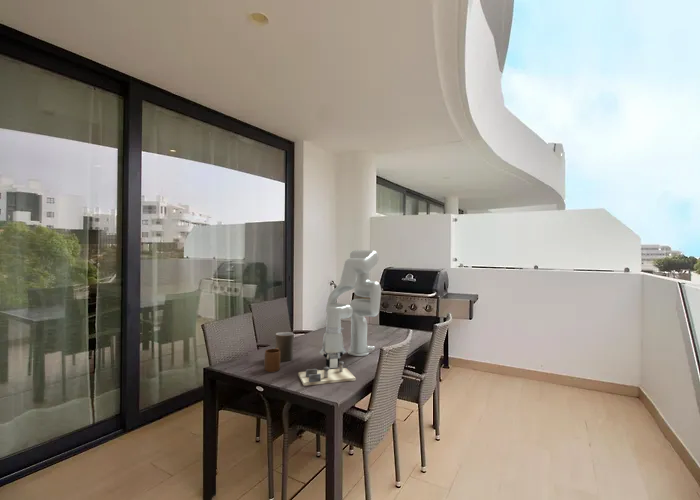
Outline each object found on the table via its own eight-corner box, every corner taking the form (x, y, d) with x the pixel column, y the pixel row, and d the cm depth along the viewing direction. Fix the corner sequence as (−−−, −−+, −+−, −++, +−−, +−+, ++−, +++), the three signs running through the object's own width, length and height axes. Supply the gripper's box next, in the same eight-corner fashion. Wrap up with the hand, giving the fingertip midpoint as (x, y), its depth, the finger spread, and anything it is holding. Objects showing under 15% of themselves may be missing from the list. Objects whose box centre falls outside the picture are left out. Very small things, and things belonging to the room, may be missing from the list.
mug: (270, 364, 177) (271, 345, 177) (284, 365, 176) (285, 346, 176) (261, 372, 165) (262, 352, 165) (277, 373, 164) (277, 353, 164)
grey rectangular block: (335, 365, 178) (335, 353, 178) (337, 367, 174) (337, 355, 174) (327, 365, 176) (327, 354, 176) (329, 368, 172) (330, 356, 172)
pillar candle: (289, 362, 180) (290, 333, 180) (271, 360, 182) (272, 332, 182) (295, 357, 190) (296, 330, 190) (279, 355, 192) (280, 328, 192)
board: (346, 370, 170) (346, 359, 170) (355, 380, 157) (355, 368, 157) (298, 374, 162) (298, 362, 162) (303, 385, 149) (304, 372, 149)
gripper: (346, 327, 181) (345, 362, 181) (315, 329, 176) (314, 365, 176) (351, 330, 174) (350, 367, 174) (319, 332, 169) (318, 369, 169)
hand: (332, 365), depth 175 cm, fingers closed on grey rectangular block, 4 cm apart
